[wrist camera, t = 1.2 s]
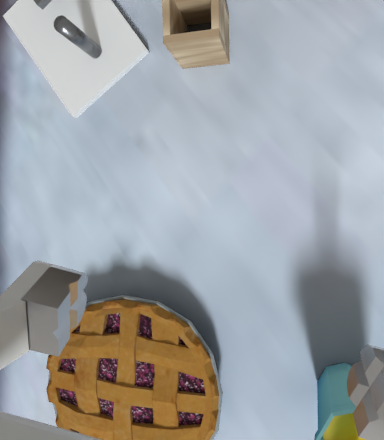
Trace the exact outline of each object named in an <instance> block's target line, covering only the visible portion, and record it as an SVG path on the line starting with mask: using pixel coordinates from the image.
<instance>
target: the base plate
mask: <svg viewBox="0 0 384 440" xmlns="http://www.w3.org/2000/svg"><path fill="white" fill-rule="evenodd" d="M60 15H62V16H65V17H66V18H67V19H68V20H70V21H71V22H72V23H73V24H74V25H75V26H77V27H78V28H79V29H80V30H81V31H83V32H84V33H85V34H86V35H87V36H88V37H90V38H91V39H92V40H93V41H94V42H96V43H97V44H98V45H99V46H100V47H101V49H102V53H101V55H100V57H98V58H92V57H91V56H89V55H88V54H87V53H85V52H84V51H83V50H81V49H80V48H79V47H77V46H76V45H75V44H73V43H72V42H71V41H69V40H68V39H67V38H65V37H64V36H63V35H61V34H60V33H59V32H57V31H56V30H55V28H54V20H55V19H56V17H58V16H60ZM3 17H4V18H5V20H6V21H7V23H8V24H9V26H10V27H11V29H12V30H13V31H14V33H15V34H16V36H17V37H18V39H19V40H20V42H21V43H22V45H23V46H24V47H25V49H26V50H27V52H28V53H29V55H30V56H31V58H32V59H33V61H34V62H35V63H36V65H37V66H38V68H39V69H40V71H41V72H42V74H43V75H44V76H45V78H46V79H47V81H48V82H49V84H50V85H51V87H52V88H53V90H54V91H55V92H56V94H57V95H58V97H59V98H60V100H61V101H62V103H63V104H64V106H65V107H66V108H67V110H68V111H69V113H70V114H71V116H72V117H75V118H77V117H78V116H80V115H81V114H82V113H83V112H84V111H85V110H86V109H87V108H88V107H90V106H91V105H92V104H93V103H94V102H95V101H96V100H97V99H98V98H100V97H101V96H102V95H103V94H104V93H105V92H106V91H107V90H108V89H110V88H111V87H112V86H113V85H114V84H115V83H116V82H117V81H118V80H119V79H121V78H122V77H123V76H124V75H125V74H126V73H127V72H128V71H129V70H131V69H132V68H133V67H134V66H135V65H136V64H137V63H138V62H139V61H141V60H142V59H143V58H144V57H145V56H146V55H147V54H148V53H149V51H148V49H147V48H146V47H145V45H144V44H143V43H142V41H141V40H140V38H139V37H138V36H137V34H136V33H135V32H134V30H133V29H132V27H131V26H130V25H129V23H128V22H127V21H126V19H125V18H124V16H123V15H122V14H121V12H120V11H119V10H118V8H117V7H116V5H115V4H114V3H113V1H112V0H52V1H51V2H50V3H49V4H48V5H47V6H46V7H45V8H44V9H43V10H42V9H41V8H40V7H39V6H37V4H36V3H35V2H34V0H18V1H17V2H16V3H15V4H14V5H13V6H12V7H11V8H10V9H9V10H8V11H7V12H6V13H5V14H4V16H3Z"/></svg>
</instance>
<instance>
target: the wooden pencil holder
mask: <svg viewBox="0 0 384 440" xmlns="http://www.w3.org/2000/svg"><path fill="white" fill-rule="evenodd" d="M162 10H163V44H164V45H165V46H166V47H167V49H168V50H169V51H170V53H171V54H172V55H173V57H174V58H175V59H176V61H177V62H178V63H179V65H180V66H181V67H182V69H184V68H193V67H202V66H211V65H221V64H229V13H228V9H227V5H226V2H225V0H162ZM203 23H211V29H210V30H202V31H195V32H188V26H189V25H196V24H203Z"/></svg>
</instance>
